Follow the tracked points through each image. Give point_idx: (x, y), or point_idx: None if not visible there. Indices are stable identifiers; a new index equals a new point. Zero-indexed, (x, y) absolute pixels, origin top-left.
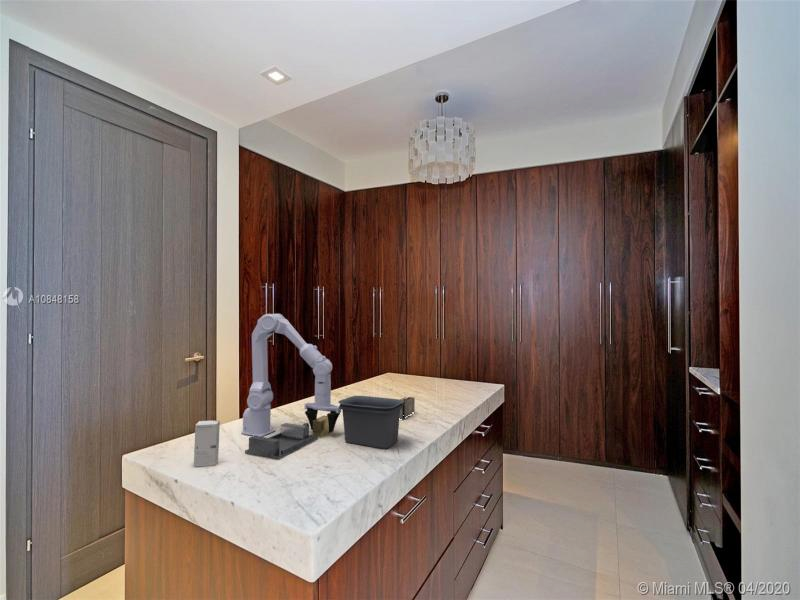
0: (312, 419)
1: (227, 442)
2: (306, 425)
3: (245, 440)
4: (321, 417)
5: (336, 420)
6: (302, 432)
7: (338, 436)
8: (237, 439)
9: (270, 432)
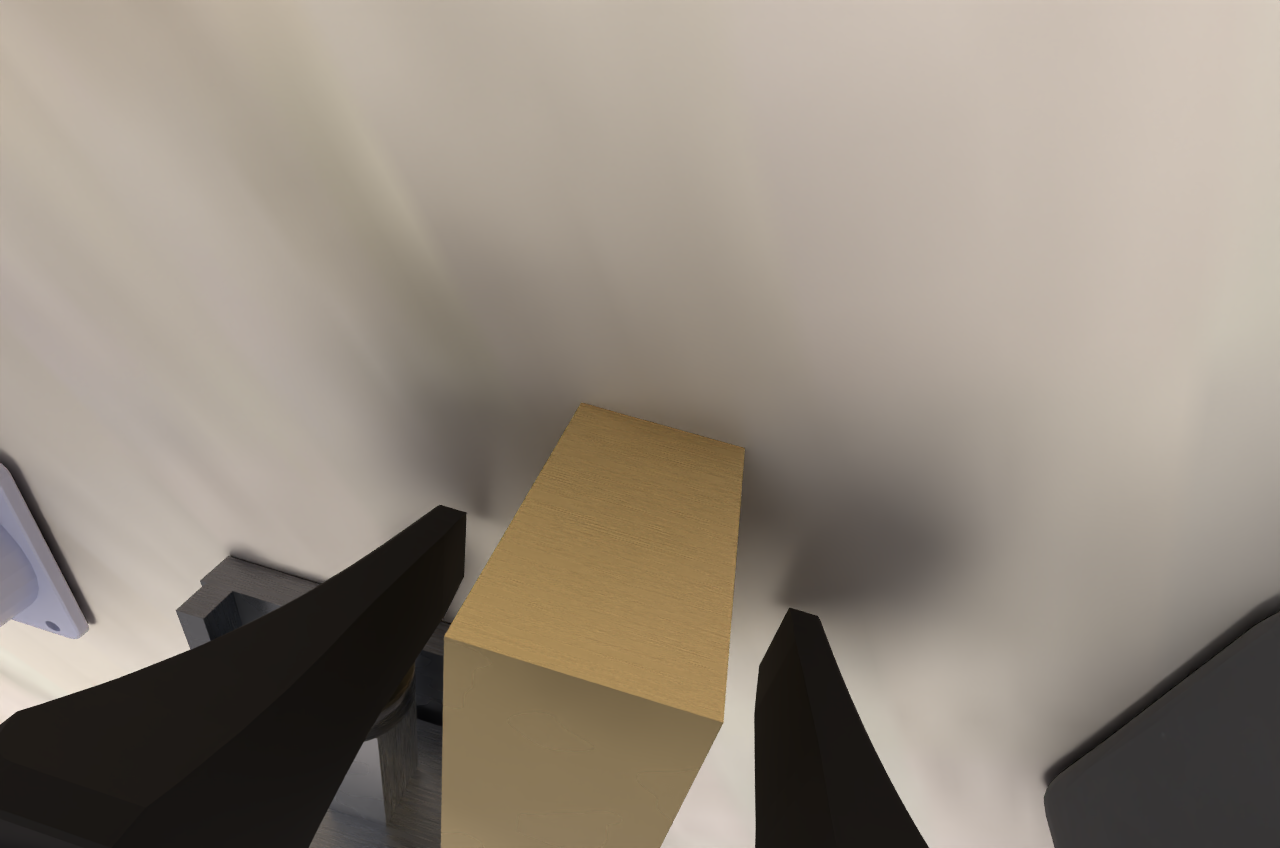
0: (353, 731)
1: (24, 703)
2: (381, 730)
3: (75, 678)
4: (493, 766)
5: (908, 824)
6: None
7: (908, 605)
8: (6, 659)
9: (38, 540)
